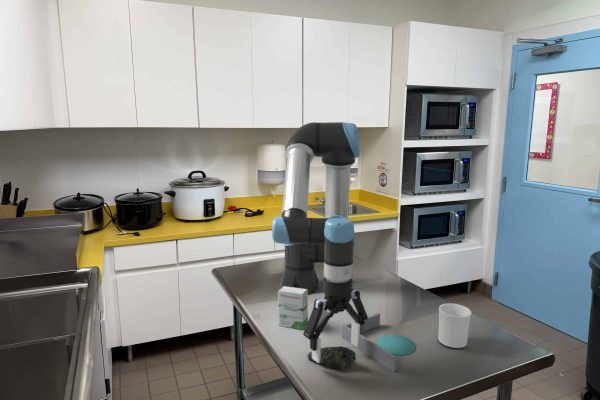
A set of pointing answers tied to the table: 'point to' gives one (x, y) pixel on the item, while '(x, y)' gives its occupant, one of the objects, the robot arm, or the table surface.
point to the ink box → (293, 307)
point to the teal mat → (396, 344)
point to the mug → (453, 325)
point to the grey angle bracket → (371, 343)
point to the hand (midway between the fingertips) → (336, 352)
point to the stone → (335, 356)
